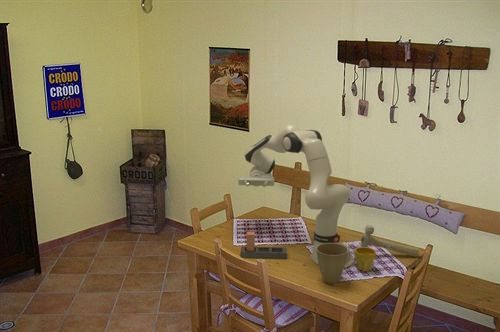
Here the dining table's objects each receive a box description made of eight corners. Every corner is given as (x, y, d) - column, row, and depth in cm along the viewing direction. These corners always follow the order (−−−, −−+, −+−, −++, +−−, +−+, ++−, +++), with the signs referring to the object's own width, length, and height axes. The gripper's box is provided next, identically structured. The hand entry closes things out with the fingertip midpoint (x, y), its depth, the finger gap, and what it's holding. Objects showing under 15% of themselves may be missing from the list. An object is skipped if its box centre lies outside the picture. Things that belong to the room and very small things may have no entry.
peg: (254, 253, 289) (254, 232, 286) (254, 256, 285) (254, 234, 282) (246, 253, 289) (247, 231, 286) (246, 256, 285) (246, 234, 282)
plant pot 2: (361, 262, 279) (362, 244, 276) (378, 269, 272) (380, 251, 269) (349, 268, 272) (350, 250, 269) (366, 275, 265) (368, 256, 262)
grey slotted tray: (286, 252, 290) (286, 247, 289) (286, 258, 282) (286, 253, 282) (241, 251, 291) (241, 246, 290) (240, 257, 283) (240, 252, 282)
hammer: (420, 237, 287) (365, 224, 287) (423, 241, 283) (367, 227, 282) (411, 264, 291) (357, 250, 291) (413, 268, 287) (358, 254, 286)
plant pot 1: (329, 270, 270) (331, 240, 266) (353, 281, 259) (355, 249, 255) (308, 278, 261) (309, 247, 257) (331, 290, 249) (333, 258, 245)
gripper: (238, 172, 313) (237, 179, 300) (274, 173, 312) (274, 180, 299) (238, 183, 315) (237, 190, 301) (274, 183, 314) (274, 191, 300)
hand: (255, 185), depth 300 cm, fingers open, 8 cm apart
